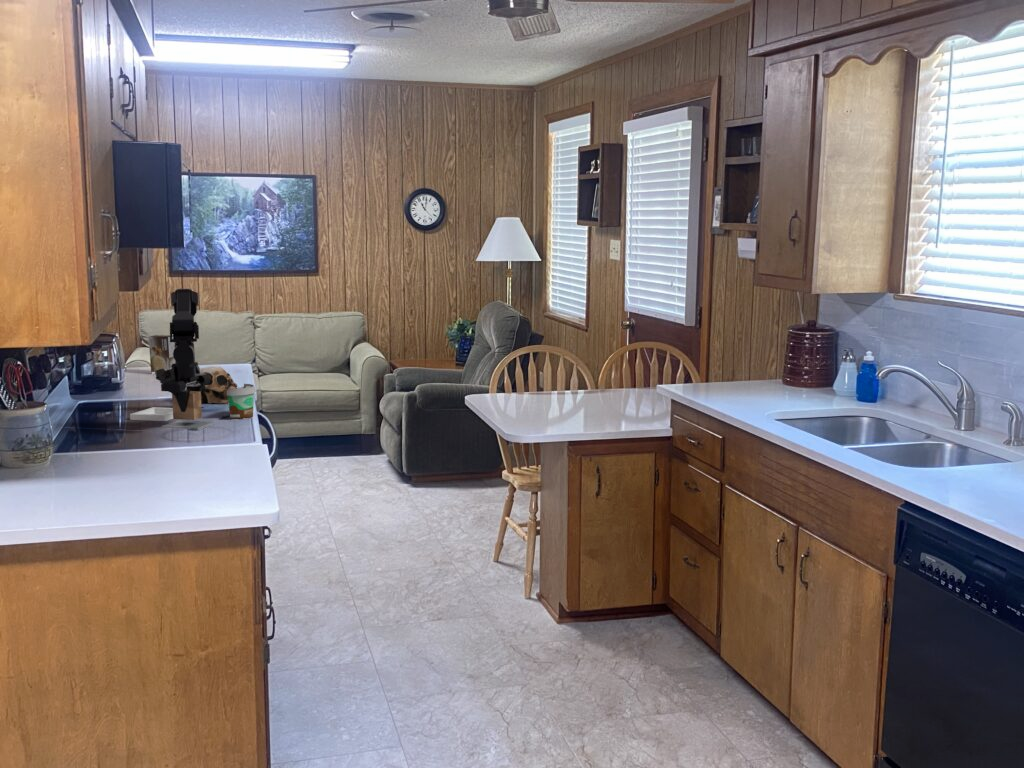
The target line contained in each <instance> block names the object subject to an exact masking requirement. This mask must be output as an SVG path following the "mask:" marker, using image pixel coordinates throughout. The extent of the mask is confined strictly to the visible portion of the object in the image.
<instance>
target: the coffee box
mask: <svg viewBox="0 0 1024 768" xmlns="http://www.w3.org/2000/svg"><path fill="white" fill-rule="evenodd" d="M172 339H173V335H172ZM148 343H149V344H148V348H149V360H150V362H149V363H150V373H151V372H155V373H156V370H159V369H164V370H165V371H166V370H169V369H172V364H173V363H175V359H174V357H173V351H174V345H175V343H176V342H170V334H169V335H168V334H167V335H166V334H165V335H164V334H163V335H162V334H161V335H160V334H157V335H151V336H148Z"/></svg>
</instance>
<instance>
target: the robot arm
mask: <svg viewBox="0 0 1024 768" xmlns="http://www.w3.org/2000/svg"><path fill="white" fill-rule="evenodd" d="M170 305H171V307H173V312H174V314H173V315H172V317H171V322H169V335H170V342H175V345H174V351H173V357H174V359H175V363H173V364H172V369H169V370H166V371H165V370H164V369H159V370H156V375H155V379H156V380H157V381H159V383H160V391H161V392H167V393H171V395H172V394H173V395H174V396H175V397H176V400H177V402H178V404H179V407H180V409H181V412H185V411H186V407H187V403H188V398H189V394H190V391H199V392H204V391H205V384H208V383H210V377H209V375H208V374H200V369H201V367H200V366H199V362H198V361H196V355H195V353H196V352H195V351H196V350H195V344H194V343H195V342H198V339H200V332H199V331H200V327H199V324H198V322H197V321H195V315H196V313H197V310H198V307H199V306H200V299H199V293H198V292H196V291H194V290H192V288H177V289H175V291H172V292H170ZM172 336H173V339H172ZM203 408H205V407H204V406H201V409H203Z"/></svg>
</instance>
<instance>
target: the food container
mask: <svg viewBox="0 0 1024 768" xmlns="http://www.w3.org/2000/svg"><path fill="white" fill-rule="evenodd" d="M255 393H257V391H256V387H255V385H254V384H250V383H243V386H241V387H236V388H235V389H228V391H227V396H228V400H229V404H228V408H229V420H230V419H239V420H244V419H243V418H248V419H252V418H253V417H254V398H255ZM251 417H252V418H251Z"/></svg>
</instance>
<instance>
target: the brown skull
mask: <svg viewBox="0 0 1024 768" xmlns="http://www.w3.org/2000/svg"><path fill="white" fill-rule="evenodd" d="M200 374H208V375H209V377H210V383H208V384H205V391H204V392H201V403H207V404H208V403H229V400H228V396H227V391H228V389H235V388H238V384H237V383H236V382H234V380H233V378H232V377H231V374H230V373H228V372H227V371H226V369H224V368H223V367H221V366H213V365H212V366H206V367H200Z"/></svg>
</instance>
